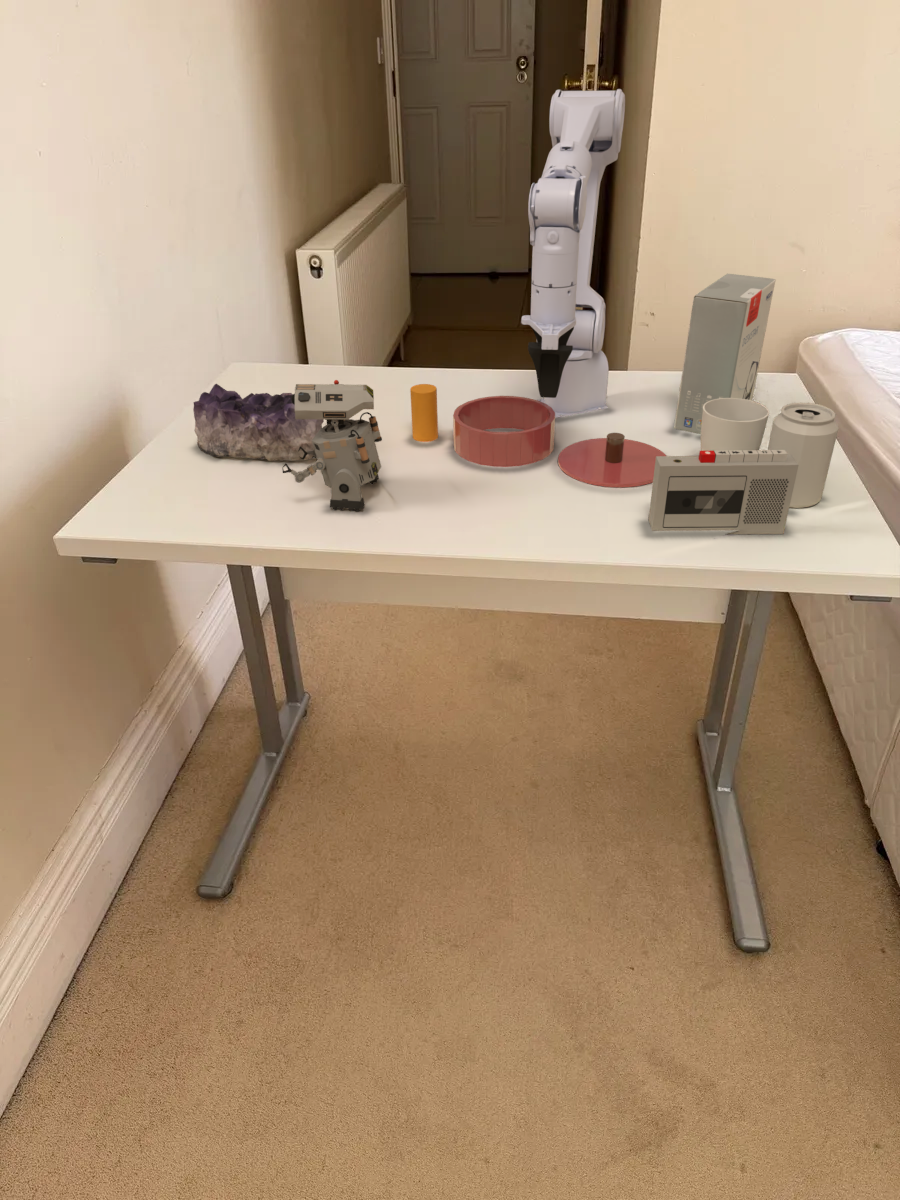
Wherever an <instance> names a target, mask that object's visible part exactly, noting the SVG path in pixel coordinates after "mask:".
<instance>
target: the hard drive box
mask: <svg viewBox="0 0 900 1200" xmlns="http://www.w3.org/2000/svg"><path fill="white" fill-rule="evenodd" d="M776 281H777V279H776V278H770V277H763V276H753V275H745V274H735V273H726V274H724V275H722V276H721V277H720V278H718V279H717V280H715V281H714V282H713V283H711V284H709V285H708V286H707V287H705V288H703V289H702V290H701V291H699V292H698V293H697V294H696V293H695V295H694V296H693V300H692V306H691V311H690V318H689V326H688V332H687V339H686V346H685V352H684V359H683V365H682V373H681V378H680V384H679V391H678V398H677V403H676V404H677V405H676V410H675V418H674V423H673V424H674V425H673V429H675V430H677V431H683V432H688V433H693V434H698V435H701V425H702V413H703V405H704V404H705V403H706V402H708V401H711V400H714V399H719V398H740V399H747V400H751V401H754V400H753V399H754V393H755V389H756V385H757V378H758V374H759V368H760V363H761V357H762V352H763V346H764V341H765V337H766V331H767V326H768V320H769V315H770V310H771V305H772V299H773V295H774V290H775V285H776Z"/></svg>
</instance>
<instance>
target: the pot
mask: <svg viewBox="0 0 900 1200" xmlns="http://www.w3.org/2000/svg"><path fill="white" fill-rule="evenodd" d="M538 400H539V399H534V398H530V397H525V396H517V395H492V396H484V397H479V398H475V399H472V400H467V401H465V402H464V403H462V404H460V405H459V406H458V407H456V408H455V409H454V411H453V414H452V424H453V425H452V426H453V449H454V452H455V453H456V454H457V455H458V456H459V457H460V458H462V459H464V460H465V461H468V462H470V463H473V464H477V465H480V466H487V467H494V468H495V467H496V468H512V467H513V468H514V467H522V466H527V465H532V464H535V463H537V462H540V461H542V460H544V459H546V458H548V457H550V455H551V454H552V453H553V452H554V446H555V429H556V427H555V425H556V417H555V412H554V410H553V409H552V408H551V407H550V406H549V405H547V404H545V403H543V402H540V401H538ZM494 429H512V430H513V429H515V430H516V431H490V430H494ZM517 430H518V431H517Z"/></svg>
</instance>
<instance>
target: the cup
mask: <svg viewBox="0 0 900 1200" xmlns="http://www.w3.org/2000/svg"><path fill="white" fill-rule="evenodd" d="M769 416H770V409H769V408H768V407H767V406H765V405H764V404H762V403H760V402H758V401H754V400H752V401H751V400H747V399H740V398H719V399H714V400H711V401H708V402H706V403H705V404H704V405H703V413H702V425H701V434H700V437H699V438H700V451H723V450H760V448H761V446H762V442H763V439H764V436H765V435H764V434H765V432H766V427H767V423H768V420H769Z"/></svg>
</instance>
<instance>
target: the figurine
mask: <svg viewBox="0 0 900 1200" xmlns="http://www.w3.org/2000/svg"><path fill="white" fill-rule="evenodd" d="M292 394H293V395H292V397H291V401H292V403H293V404H294V405H295V419H324V420H325V421H326V424H325V425H323V426H322V428H321V429H320V430H319V431H318V433H317V434H316V435H315V437H314V438H313V439H312V443H313V448H312V450H311V451H305V450H304V449H303V448H302V447H301V446H300V447H299V450H300V449H302V451H303V452H304V456H303V458H301V457H300V456H299V457H300V458H301V459H302V460H301V461H305V460H304V458H305V457H306V455H307V454H308V455H310V454H312V455H313V456H315V457H317V458H316V459H317V460H316V461H315V463H314V464H312V463H311V464H309V465H307V466H306V468H305V469H303V470H299V471H296V470H294V469H293V468H291V467H290V466H289V465H288V463H287V462H285V463H284V465H283V466H282V469H281V471H282V474H287V473H290V474H291V475H293V476H294V480H295V482H296V483H300V484H301V483H302V482H304V481H305V479H306V478H308V477H310V476H313V475H315V474H316V473H317V471H320V473H321V476H322V479H323V483H324V485H325V486H326V487H327V488H330V499H329V508H331V509H332V510H333V511H337V510H339V511H343V510H344V509H347V510H348V511H350V512H353V511H354V510H355V512H359V511H360V510H363V509H364V507H365V504H366V503H365V500H364V497H363V494H362V489H361V486H364V485H367V484H368V483H369V484H370V485H374V484H375V483H378V481H379V472H380V470H381V468H382V463H381V459H380V456H379V451H378V448H377V444H376V443H379V442H382V440H383V437H382V436H381V432H380V429H379V422H378V420H377V416H374V415H372V414H371V413H370V412H367V411H366V412H363V413H362V414H361V415H360V417H359V419H353V417H354V416H356V415H357V414H359V413H360V412H362V411H363V410H374V409H375V397H374V394H375V393H374V389H373V388H372V387H370V386H368V385H367V384H343V383H341V384H340V381H339V380H338V379H335V380H334V381H333V383H329V384H328V383H327V384H324V383H320V384H318V383H316V384H315V383H314V384H313V383H297V384H295V387H294V393H292ZM364 415H369V416H370V417H368V420H366V419H362V417H364ZM351 418H352V419H351ZM299 450H298V452H299ZM284 467H286V470H284Z"/></svg>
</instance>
